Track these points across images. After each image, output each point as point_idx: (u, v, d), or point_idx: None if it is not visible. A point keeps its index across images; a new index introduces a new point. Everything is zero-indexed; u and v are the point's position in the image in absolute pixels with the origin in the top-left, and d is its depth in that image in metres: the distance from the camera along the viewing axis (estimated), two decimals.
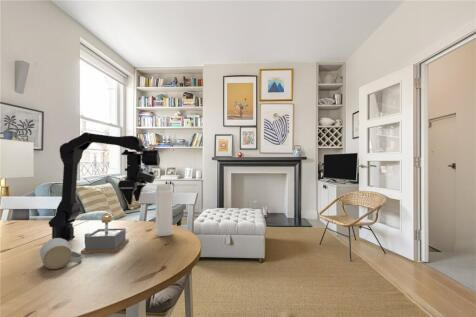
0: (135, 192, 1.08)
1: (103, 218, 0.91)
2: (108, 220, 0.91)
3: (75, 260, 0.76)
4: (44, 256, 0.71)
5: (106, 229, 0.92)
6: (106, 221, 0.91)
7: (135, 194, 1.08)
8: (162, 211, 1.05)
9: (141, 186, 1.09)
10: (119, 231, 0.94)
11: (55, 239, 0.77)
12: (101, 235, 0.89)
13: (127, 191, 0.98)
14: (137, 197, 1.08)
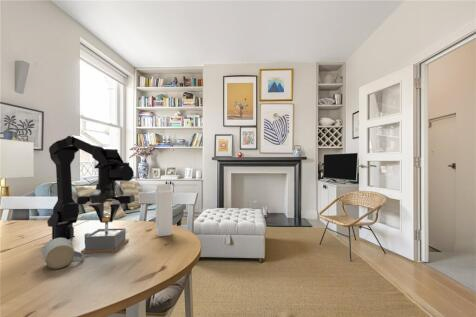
0: None
1: (103, 218, 0.91)
2: (108, 220, 0.91)
3: (78, 260, 0.77)
4: (47, 256, 0.71)
5: (106, 229, 0.92)
6: (106, 221, 0.91)
7: None
8: (162, 211, 1.05)
9: None
10: (119, 231, 0.94)
11: (57, 239, 0.78)
12: (101, 235, 0.89)
13: None
14: None
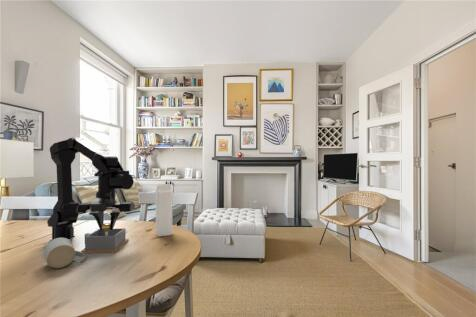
0: None
1: (103, 226, 0.91)
2: (108, 228, 0.91)
3: (79, 260, 0.77)
4: (48, 255, 0.71)
5: None
6: (106, 229, 0.91)
7: None
8: (162, 211, 1.05)
9: None
10: None
11: (58, 238, 0.78)
12: None
13: None
14: None
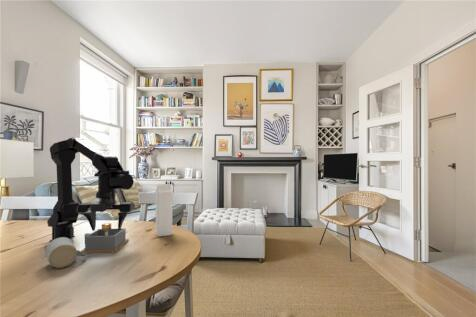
0: None
1: (103, 226, 0.91)
2: (108, 228, 0.91)
3: (80, 259, 0.77)
4: (50, 255, 0.72)
5: None
6: (106, 229, 0.91)
7: None
8: (162, 211, 1.05)
9: None
10: None
11: (60, 238, 0.78)
12: None
13: None
14: None
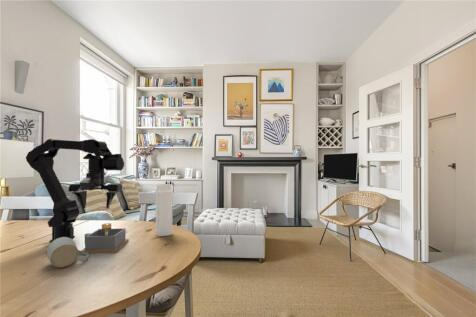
0: None
1: (103, 226, 0.91)
2: (108, 228, 0.91)
3: (82, 259, 0.78)
4: (51, 255, 0.72)
5: None
6: (106, 229, 0.91)
7: None
8: (162, 211, 1.05)
9: None
10: None
11: (61, 238, 0.78)
12: None
13: None
14: None
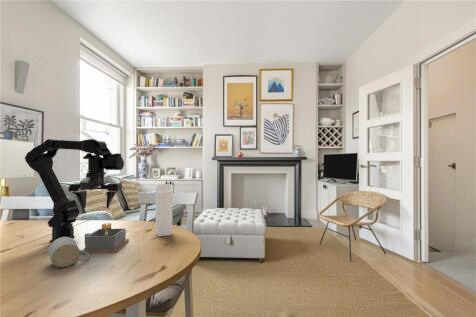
0: None
1: (103, 226, 0.91)
2: (108, 228, 0.91)
3: (83, 259, 0.78)
4: (53, 254, 0.72)
5: None
6: (106, 229, 0.91)
7: None
8: (162, 211, 1.05)
9: None
10: None
11: (62, 238, 0.78)
12: None
13: None
14: None
